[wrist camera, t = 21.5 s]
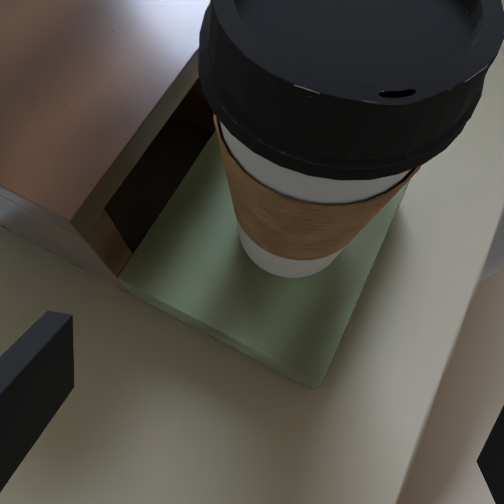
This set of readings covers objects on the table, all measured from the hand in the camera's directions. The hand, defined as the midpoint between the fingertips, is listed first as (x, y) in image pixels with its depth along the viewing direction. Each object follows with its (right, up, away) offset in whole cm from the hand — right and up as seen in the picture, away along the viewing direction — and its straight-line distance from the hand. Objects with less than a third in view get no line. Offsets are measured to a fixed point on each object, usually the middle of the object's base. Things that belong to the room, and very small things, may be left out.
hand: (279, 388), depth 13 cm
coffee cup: (+1, +5, +12) cm, 13 cm away
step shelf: (-4, +7, +15) cm, 17 cm away
